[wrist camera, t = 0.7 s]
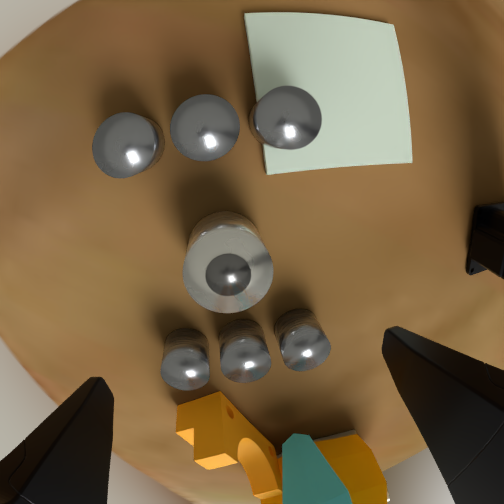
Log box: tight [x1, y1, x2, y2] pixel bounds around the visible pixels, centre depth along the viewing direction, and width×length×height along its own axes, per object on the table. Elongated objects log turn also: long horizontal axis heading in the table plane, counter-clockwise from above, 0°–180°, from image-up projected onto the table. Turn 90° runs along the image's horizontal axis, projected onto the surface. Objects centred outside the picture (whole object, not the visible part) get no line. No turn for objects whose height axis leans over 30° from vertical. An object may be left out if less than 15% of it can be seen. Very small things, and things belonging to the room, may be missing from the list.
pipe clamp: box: [176, 391, 283, 500], centre depth 22 cm, size 12×4×6 cm, turn 25°
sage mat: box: [244, 12, 412, 175], centre depth 15 cm, size 10×10×1 cm
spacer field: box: [92, 86, 331, 390], centre depth 16 cm, size 11×17×3 cm, turn 7°
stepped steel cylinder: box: [183, 211, 273, 313], centre depth 16 cm, size 4×4×4 cm
